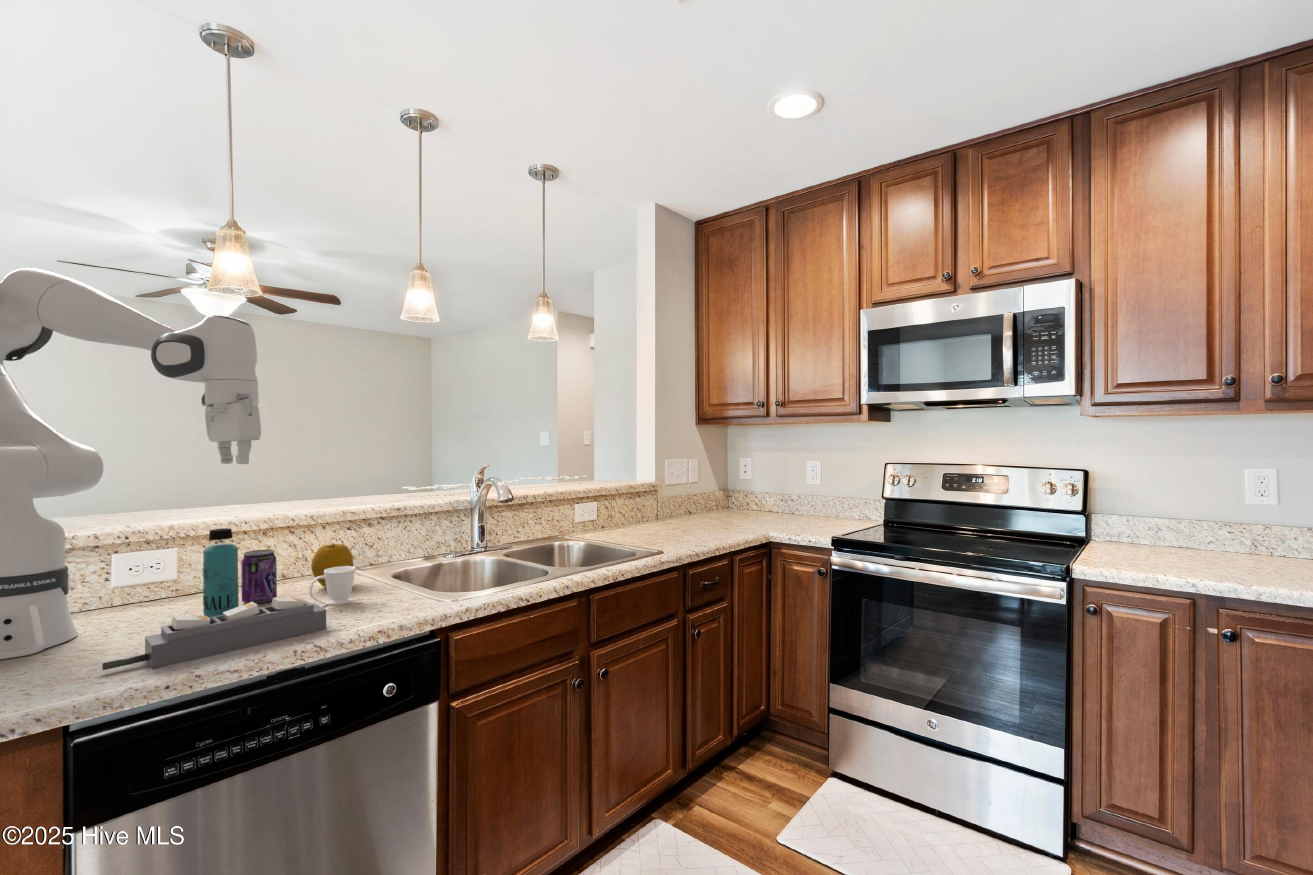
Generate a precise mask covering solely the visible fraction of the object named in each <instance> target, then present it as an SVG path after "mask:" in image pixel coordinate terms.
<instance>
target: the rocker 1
mask: <svg viewBox="0 0 1313 875" xmlns="http://www.w3.org/2000/svg"><path fill="white" fill-rule="evenodd" d="M210 620H211V619H209V618H208V617H207V616H204V615H172V618H171V624H170V625H171V626H172V627H173V628H174V629H189V628H194V627H199V626H204V625H209V624H210Z"/></svg>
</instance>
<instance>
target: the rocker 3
mask: <svg viewBox="0 0 1313 875" xmlns="http://www.w3.org/2000/svg"><path fill="white" fill-rule="evenodd" d="M304 600H305V599H302V598H300V597H275V598H273V599H272V600H271V605H270V606H272V607H273V608H275V609H290V608H296V607H301V606H305V602H306V601H307V600H305V601H304Z"/></svg>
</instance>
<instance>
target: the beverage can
mask: <svg viewBox="0 0 1313 875" xmlns="http://www.w3.org/2000/svg"><path fill="white" fill-rule="evenodd" d="M240 564H241V566H240V569H241V573H240V575H241V602H243V603H244V604H247V603H250V602H254V603H255V604H257V605H260V604H266V603H269V602H270V601H271V602H272V599H273V598H278V597H277V596H278V595H277V594H278V591H277V589H278V588H277V587H278V585H277V584H278V583H277V581H278V579H277V577H278V575H277V556H276V555H275V550H274V549H256V550H249V551H246V552H243V557H242V559H241V563H240Z"/></svg>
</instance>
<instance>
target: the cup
mask: <svg viewBox="0 0 1313 875" xmlns="http://www.w3.org/2000/svg"><path fill="white" fill-rule="evenodd" d="M355 572H356V566H353V567H351V566H341V567H333V568H329V569H325V571H324V576H318V577H316V578H315V577H314V579H313V580H312V581H311V582H310V586H309V591H308V593H309V595H310V598H312V599H313V600H314V601H316V602H318V603H319V604H322V605H325V606H341V605H346V604H349V603H350V602H351V599H350V598H351V594H352V590H353V585H354V578H355ZM317 579H325V582H326V587H325V588H326V592H327V594H328V595H327V596H328V599H329V600H330V602H323V601H321V600H319V599H316V597H314V595H313V593H312V592H313V586H314V584H315V582H317Z"/></svg>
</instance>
